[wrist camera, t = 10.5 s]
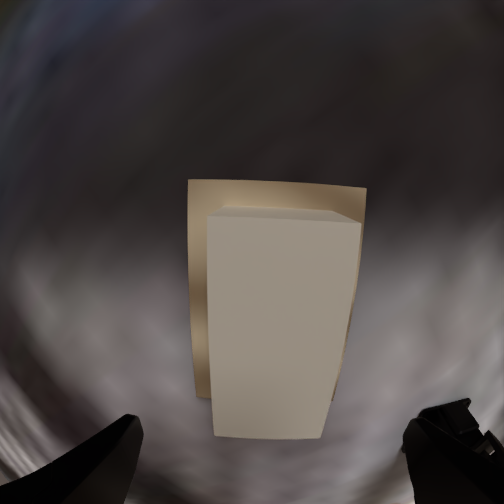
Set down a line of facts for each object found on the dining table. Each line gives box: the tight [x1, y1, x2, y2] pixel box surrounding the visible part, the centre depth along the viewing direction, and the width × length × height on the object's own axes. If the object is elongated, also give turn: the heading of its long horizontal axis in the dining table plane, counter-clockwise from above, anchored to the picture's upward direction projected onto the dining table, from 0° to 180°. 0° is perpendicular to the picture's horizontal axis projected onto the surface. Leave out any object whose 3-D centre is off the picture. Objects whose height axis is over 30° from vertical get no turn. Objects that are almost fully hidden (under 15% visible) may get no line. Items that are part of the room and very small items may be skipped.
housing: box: [207, 206, 361, 439], centre depth 15 cm, size 12×6×5 cm, turn 178°
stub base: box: [188, 180, 366, 401], centre depth 16 cm, size 15×10×4 cm, turn 178°
